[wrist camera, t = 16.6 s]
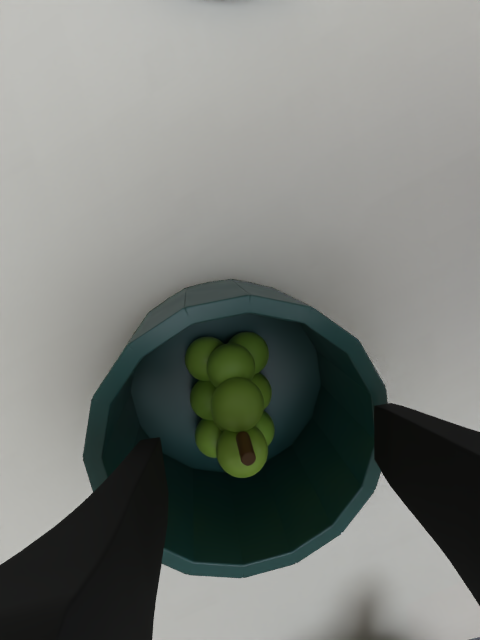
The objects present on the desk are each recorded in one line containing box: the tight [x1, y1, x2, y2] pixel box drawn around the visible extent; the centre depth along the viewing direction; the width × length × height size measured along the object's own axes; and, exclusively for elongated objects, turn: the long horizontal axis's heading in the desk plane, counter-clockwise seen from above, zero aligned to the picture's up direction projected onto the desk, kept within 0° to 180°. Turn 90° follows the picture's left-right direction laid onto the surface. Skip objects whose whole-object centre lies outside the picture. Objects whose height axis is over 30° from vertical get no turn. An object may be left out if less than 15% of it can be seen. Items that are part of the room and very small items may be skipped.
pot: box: [83, 279, 387, 578], centre depth 15 cm, size 10×10×6 cm
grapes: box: [185, 332, 275, 478], centre depth 14 cm, size 6×4×6 cm, turn 5°
